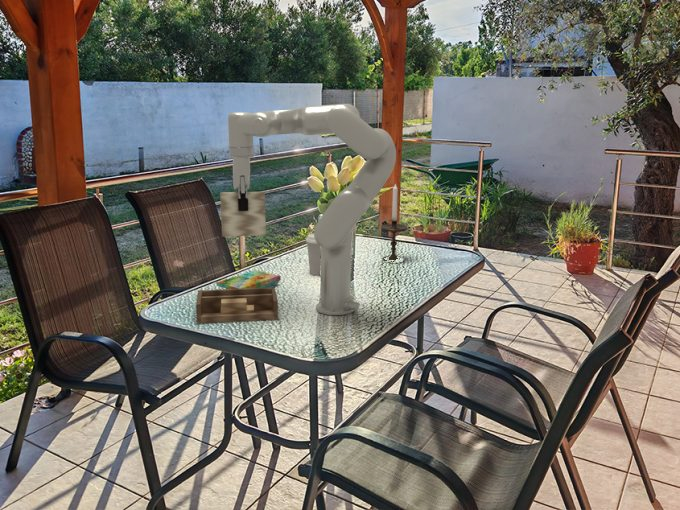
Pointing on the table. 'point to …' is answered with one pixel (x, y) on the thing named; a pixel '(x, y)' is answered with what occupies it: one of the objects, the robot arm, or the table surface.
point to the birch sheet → (243, 215)
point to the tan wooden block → (236, 306)
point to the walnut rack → (259, 297)
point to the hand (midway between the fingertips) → (243, 210)
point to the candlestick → (394, 225)
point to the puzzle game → (250, 280)
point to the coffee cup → (313, 255)
